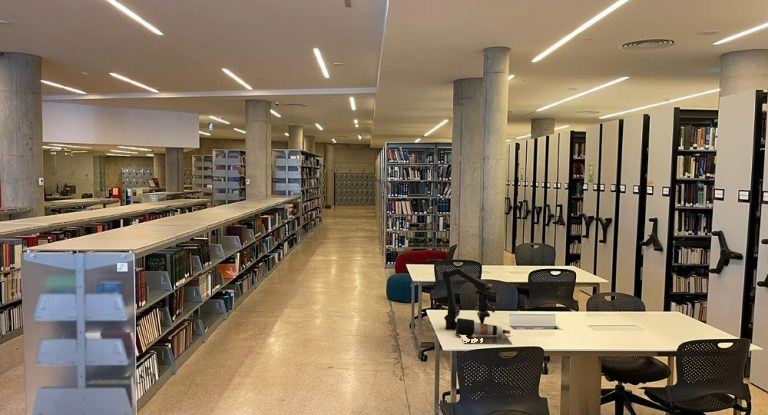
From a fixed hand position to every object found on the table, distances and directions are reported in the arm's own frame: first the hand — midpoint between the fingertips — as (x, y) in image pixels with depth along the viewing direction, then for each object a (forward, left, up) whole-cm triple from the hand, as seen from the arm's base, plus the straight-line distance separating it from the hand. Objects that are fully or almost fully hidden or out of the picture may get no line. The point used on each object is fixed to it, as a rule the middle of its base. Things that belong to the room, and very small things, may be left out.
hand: (482, 324), depth 350 cm
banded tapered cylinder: (0, -4, -6) cm, 8 cm away
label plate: (0, -9, -6) cm, 11 cm away
